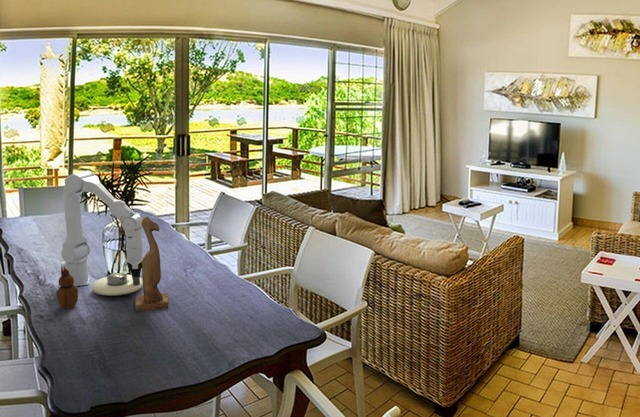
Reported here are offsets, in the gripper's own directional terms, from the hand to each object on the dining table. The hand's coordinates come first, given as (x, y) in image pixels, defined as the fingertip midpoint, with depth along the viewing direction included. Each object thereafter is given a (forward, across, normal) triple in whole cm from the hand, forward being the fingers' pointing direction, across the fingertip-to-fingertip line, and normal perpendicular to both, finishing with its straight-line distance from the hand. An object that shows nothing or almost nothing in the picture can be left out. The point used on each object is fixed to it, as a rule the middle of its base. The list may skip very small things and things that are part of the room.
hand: (136, 281), depth 217 cm
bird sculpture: (+3, -17, -5) cm, 18 cm away
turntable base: (+3, +2, +7) cm, 8 cm away
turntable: (+3, +2, +7) cm, 8 cm away
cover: (+1, +2, +7) cm, 7 cm away
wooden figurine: (+4, -11, +23) cm, 25 cm away
